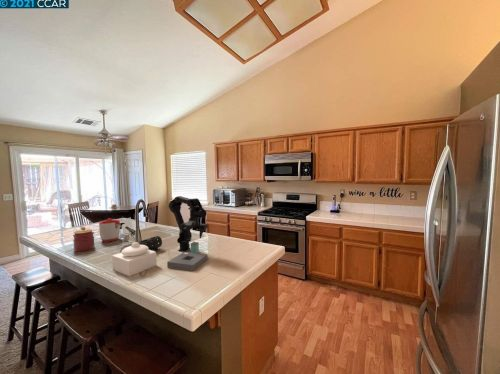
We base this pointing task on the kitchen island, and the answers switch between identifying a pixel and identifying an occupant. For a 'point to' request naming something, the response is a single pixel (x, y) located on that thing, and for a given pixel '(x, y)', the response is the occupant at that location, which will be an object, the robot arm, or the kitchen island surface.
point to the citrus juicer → (109, 230)
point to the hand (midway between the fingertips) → (194, 237)
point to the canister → (83, 240)
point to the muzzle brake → (148, 243)
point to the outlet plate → (187, 261)
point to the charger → (195, 247)
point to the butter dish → (134, 259)
